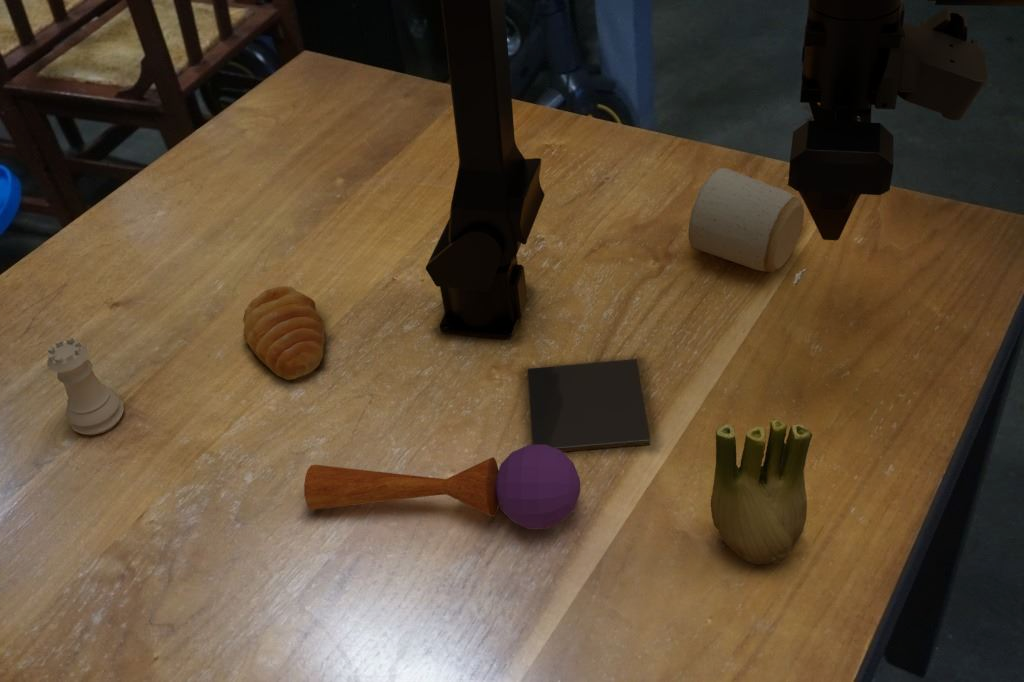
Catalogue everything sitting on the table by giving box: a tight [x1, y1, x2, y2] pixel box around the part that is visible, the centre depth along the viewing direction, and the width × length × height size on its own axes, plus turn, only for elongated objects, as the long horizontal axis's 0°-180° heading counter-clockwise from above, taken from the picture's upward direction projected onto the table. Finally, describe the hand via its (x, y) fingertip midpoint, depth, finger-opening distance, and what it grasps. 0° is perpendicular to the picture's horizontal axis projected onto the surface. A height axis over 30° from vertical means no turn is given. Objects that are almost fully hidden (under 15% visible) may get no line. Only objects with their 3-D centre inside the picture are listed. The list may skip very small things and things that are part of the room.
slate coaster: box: [527, 358, 651, 453], centre depth 87 cm, size 9×9×1 cm
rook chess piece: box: [46, 337, 125, 436], centre depth 89 cm, size 4×4×8 cm
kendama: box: [303, 444, 581, 530], centre depth 80 cm, size 6×6×20 cm
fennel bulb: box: [710, 418, 814, 565], centre depth 72 cm, size 6×5×12 cm
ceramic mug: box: [687, 167, 805, 273], centre depth 98 cm, size 11×8×8 cm
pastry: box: [242, 285, 326, 380], centre depth 95 cm, size 9×7×4 cm
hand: (833, 199), depth 80 cm, fingers open, 9 cm apart
